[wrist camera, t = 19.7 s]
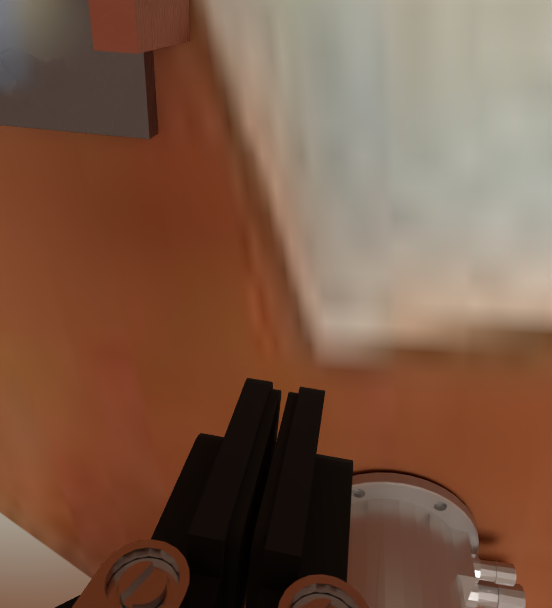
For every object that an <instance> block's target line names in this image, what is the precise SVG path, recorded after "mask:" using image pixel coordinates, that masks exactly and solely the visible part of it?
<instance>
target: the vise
mask: <svg viewBox="0 0 552 608" xmlns="http://www.w3.org/2000/svg"><path fill="white" fill-rule="evenodd" d="M0 125H4V126H15V127H26V128H36V129H47V130H58V131H69V132H79V133H90V134H101V135H112V136H122V137H133V138H144V139H150V138H152V137H153V136H155V135H157V134H158V126H157V110H156V94H155V78H154V61H153V50H151V51H147V52H143V53H139V54H136V53H123V52H109V51H96V50H94V47H93V39H92V30H91V21H90V12H89V3H88V0H0Z"/></svg>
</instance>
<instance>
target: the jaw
mask: <svg viewBox="0 0 552 608" xmlns="http://www.w3.org/2000/svg"><path fill="white" fill-rule="evenodd" d="M88 3H89V12H90V21H91V30H92V39H93V47H94V50H96V51H109V52H123V53H136V54H139V53H143V52H147V51H151V50H155V49H159V48H163V47H167V46H172V45H176V44H180V43H184V42H188V41H190V28H189V0H88Z"/></svg>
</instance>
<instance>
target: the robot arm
mask: <svg viewBox="0 0 552 608" xmlns="http://www.w3.org/2000/svg"><path fill="white" fill-rule="evenodd" d="M324 396H325V391H323V390H317V389H311V388H305V387H300V389H299V393H293V392H289V393H288V397H287V401H286V405H285V409H284V413H283V418H282V422H281V426H280V430H279V434H278V438H277V430H278V421H279V411H280V401H281V390H275V389H273V383H272V382H269V381H263V380H257V379H251V378H247V379H246V381H245V384H244V387H243V389H242V392H241V395H240V397H239V400H238V402H237V405H236V408H235V410H234V413H233V416H232V418H231V421H230V423H229V426H228V429H227V431H226V434H225V437H219V436H214V435H208V434H203V433H200V434H199V435H198V437H197V438H196V440H195V442H194V445H193V447H192V449H191V451H190V453H189V456H188V458H187V460H186V462H185V465H184V467H183V469H182V471H181V474H180V476H179V478H178V480H177V482H176V485H175V487H174V489H173V491H172V494H171V496H170V498H169V500H168V502H167V505H166V507H165V509H164V511H163V514H162V516H161V518H160V520H159V522H158V525H157V527H156V529H155V531H154V534H153V536H152V538H151V540H140V541H136V542H133V543H130V544H127V545H125V546H123V547H121V548H120V549H118V550H117V551H115V552H114V553H112V554H111V555H110V556H109V558H108V559H107V560H106V561H105V562H104V563H103V564H102V565H101V567H100V568H99V570H98V571H97V572H96V574H95V575H94V577H93V578H92V580H91V581H90V582H89V584H88V585H87V587H86V588H85V589H84V591H83V592H82V594H81V595H79V596H77V597H75V598H73V599H71V600H69V601H67V602H65V603H63V604H61V605H59V606H57V607H55V608H244V606H245V602H246V608H477V606H479V607H484V608H525V594H524V590H523V587H522V586H521V585H520V584H515V583H516V569H515V567H514V565H513V564H510V563H504V562H498V561H493V562H492V561H486V560H480V559H479V557H478V549H479V539H478V533H477V527H476V524H475V521H474V518H473V516H472V514H471V513H470V511H469V510H468V508H467V507H466V506H465V505H464V504H463V503H462V502H461V501H460V500H459V499H458V498H457V497H456V496H455V495H453V494H452V493H450V492H449V491H447V490H446V489H444V488H443V487H440V486H438V485H436V484H434V483H432V482H430V481H427V480H424V479H420V478H417V477H414V476H410V475H404V474H397V473H367V474H359V475H355V476H353V460H347V459H341V458H336V457H330V456H325V455H319V454H316V452H317V445H318V438H319V431H320V424H321V417H322V410H323V403H324ZM276 440H277V442H276ZM246 598H247V599H246Z"/></svg>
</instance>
